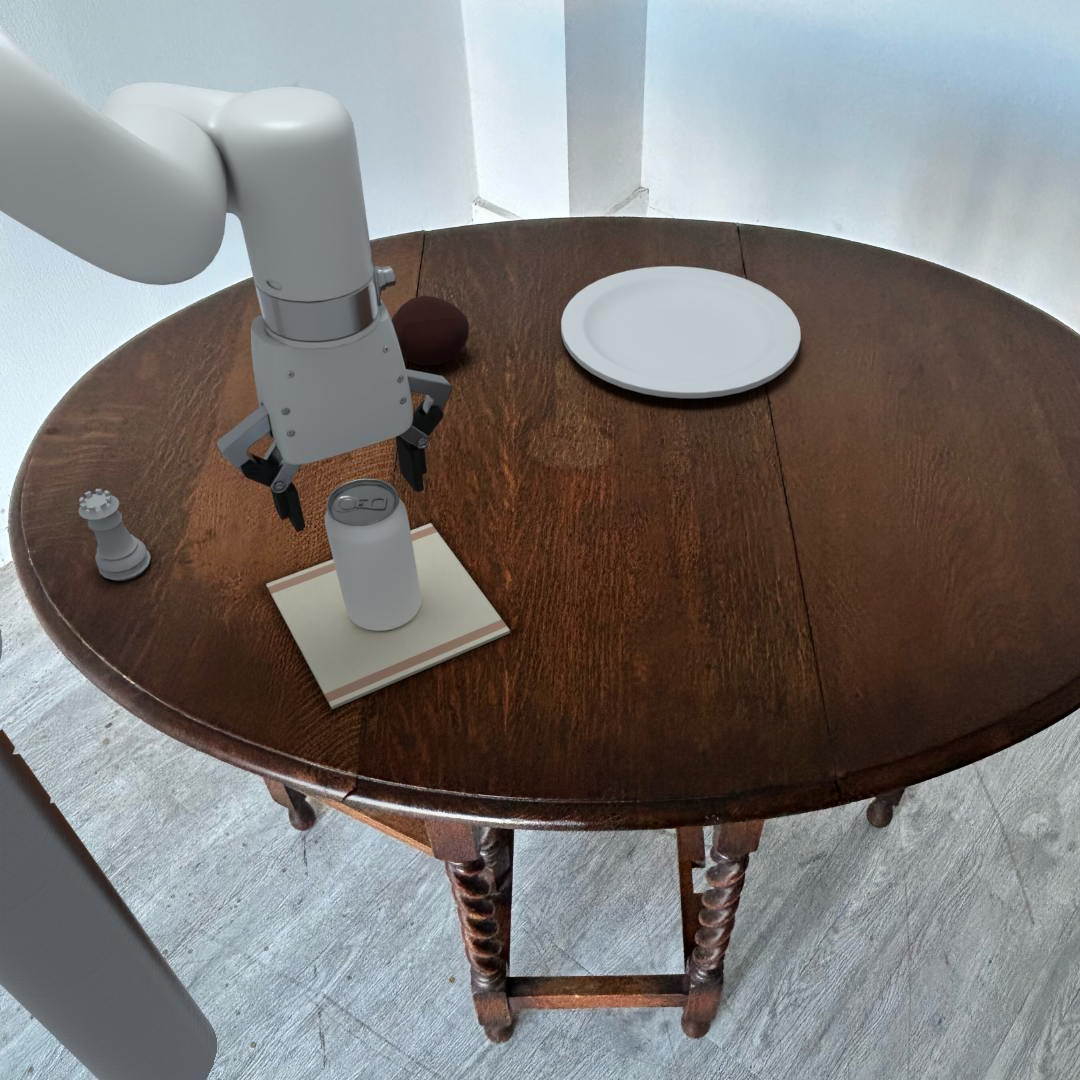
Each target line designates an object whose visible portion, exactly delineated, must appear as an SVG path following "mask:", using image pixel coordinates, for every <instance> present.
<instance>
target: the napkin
mask: <svg viewBox="0 0 1080 1080" xmlns="http://www.w3.org/2000/svg"><path fill="white" fill-rule="evenodd" d="M410 532H411V538H412V544H413V550H414V556H415V562H416V568H417V574H418V580H419V587H420V593H421V605H420V608H419V610H418V612H417V614H416V615H415V616H414V617H413V618H412V619H411V620H410V621H409V622H408V623H406V624H405V625H403V626H401V627H399V628H396V629H393V630H389V631H371V630H367V629H365V628H362V627H360V626H358V625H356V624H355V623H354V622H353V621H352V620H351V619H350V618H349V616H348V614H347V611H346V607H345V603H344V599H343V596H342V592H341V588H340V584H339V580H338V576H337V572H336V568H335V564H334V560H333V558H332V559H330V560H327V561H324V562H321V563H319V564H317V565H313V566H311V567H308V568H305V569H303V570H300V571H298V572H294V573H292V574H289V575H287V576H283V577H281V578H279V579H276V580H273V581H270V582H268V583H266V584H265V586H266V589H267V590H268V592H269V594H270V596H271V598H272V599H273V601H274V603H275V605H276V607H277V609H278V611H279V613H280V615H281V616H282V618H283V620H284V622H285V624H286V626H287V628H288V630H289V631H290V634H291V635H292V637H293V639H294V641H295V643H296V645H297V647H298V648H299V651H300V652H301V654H302V656H303V658H304V660H305V662H306V663H307V666H308V667H309V670H310V671H311V673H312V675H313V677H314V679H315V680H316V682H317V685H318V686H319V689H320V690H321V692H322V694H323V696H324V697H325V699H326V702H327V703H328V705H329V707H330V709H331V710H335V709H337V708H340V707H341V706H343V705H346V704H348V703H350V702H351V703H352V702H353V701H355V700H358V699H360V698H363V697H364V696H367V695H370V694H372V693H374V692H376V691H379V690H381V689H383V688H385V687H387V686H391V685H392V684H395V683H398V682H400V681H402V680H405V679H407V678H408V677H411V676H413V675H416V674H419V673H421V672H423V671H425V670H427V669H430V668H432V667H435V666H437V665H439V664H442V663H444V662H446V661H449V660H451V659H453V658H456V657H458V656H460V655H462V654H465V653H468V652H470V651H472V650H474V649H476V648H479V647H481V646H483V645H485V644H489V643H490V642H493V641H495V640H497V639H499V638H502V637H505V636H508V635H509V634H511V630H510V628H509V627H508V626H507V624H506V623H505V621H504V620H503V619H502V618H501V616H500V614H499V613H498V612H497V610H496V609H495V608H494V607H493V605H492V604H491V603H490V601H489V600H488V598H487V597H486V596H485V594H484V593H483V592H482V590H481V589H480V588H479V586H478V585H477V583H476V582H475V581H474V580H473V578H472V577H471V575H470V573H468V571H467V570H466V568H465V567H464V566H463V564H462V563H461V562H460V561H459V559H458V557H457V556H456V555H455V554H454V552H453V551H452V549H451V548H450V547H449V546H448V544H447V543H446V541H445V539H444V538H443V537H442V536H441V535H440V533H439V532H438V530H437V529H436V527H435V526H434V525H433V524H432V523H431V522H430V523H427V524H425V525H422V526H419V527H416V528H414V529H413V528H412V529H410Z"/></svg>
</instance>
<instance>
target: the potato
mask: <svg viewBox="0 0 1080 1080" xmlns="http://www.w3.org/2000/svg"><path fill="white" fill-rule="evenodd" d="M391 320H392V323H393V326H394V329H395V332H396V335H397V339H398V342H399V346H400V349H401V353H402V357H403V360H406V361H408V362H410V363H412V364H416V365H419V366H423V367H424V366H438V365H440V364H443V363H446V362H448V361H450V360H452V359H453V358H455V357H456V356H457V355H458V354H459V353H460V352H461V351H462V350H463V349H464V347H465V345H466V343H467V342H468V339H469V334H470V333H469V331H470V330H469V329H470V327H469V326H470V323H469V321H468V318H467V316H466V315H465V314H464V313H463V312H462V311H461V310H460V309H459V308H458V307H457V306H455V305H454V304H453V303H451V302H449V301H447V300H445V299H443V298H440V297H436V296H430V295H421V296H417V297H412V298H410V299H409V300H407V301H406V302H404V303H403V304H401V306H400V307H399V308H398V309H397V311H396V312H395V313H394V314H393V316H392V317H391Z"/></svg>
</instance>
